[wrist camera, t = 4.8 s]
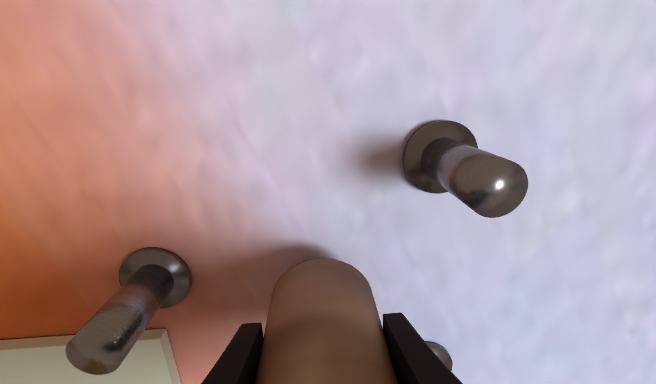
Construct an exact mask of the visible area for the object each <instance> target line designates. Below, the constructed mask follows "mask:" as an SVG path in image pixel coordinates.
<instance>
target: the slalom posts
mask: <svg viewBox="0 0 656 384" xmlns="http://www.w3.org/2000/svg"><path fill="white" fill-rule="evenodd" d="M403 167H404V171H405V173H406V175H407V177H408V178H409V180H410V181H411V182H412V183H413V184H414V185H415V186H416V187H418V188H419V189H421V190H423V191H425V192H429V193H445V192H448V191H449V192H450V193H451V194H453V195H454V196H455V197H457V198H458V199H459V200H461V201H462V202H463V203H465V204H466V205H467V206H468V207H470V208H471V209H472V210H474V211H475V212H476V213H478V214H479V215H481V216H484V217H489V218H495V217H500V216H503V215H506V214H508V213H510V212H511V211H513V210H514V209H515V208H516V207H517V206H519V204H520V203H521V202H522V200H523V199H524V197H525V195H526V192H527V188H528V178H527V175H526V173H525V171H524V169H523V168H522V167H521V166H520V165H519V164H517V163H515V162H513V161H510V160H507V159H505V158H502V157H499V156H497V155H494V154H491V153H488V152H486V151H483V150H480V149H478V146H477V142H476V139H475V137H474V136H473V134H472V133H471V131H470V130H469V129H468V128H466V127H465V126H463V125H462V124H460V123H457V122H453V121H448V120H438V121H433V122H430V123H427V124H425V125H424V126H422V127H421V128H419V129H418V130H417V131H416V132H415V133H414V134H413V135H412V136H411V137H410V139H409V140H408V142H407V144H406V146H405V149H404V153H403ZM119 281H120V284H121V287H120V288H119V290H118V291H117V292H116V293H115V294H114V295H113V296H112V297H111V298H110V299H109V300H108V301H107V302H106V303H105V304H104V305H103V306H102V307H101V308H100V309H99V310H98V311H97V313H96V314H95V315H94V316H93V317H92V318H91V319H90V320H89V321H88V322H87V323H86V324H85V325H84V326H83V327H82V328H81V329H80V330H79V331H78V332H77V333H76V335H75V336H74V337H73V338H72V339H71V340H70V341H69V342H68V343H67V345H66V349H65V352H66V356H67V359H68V360H69V362H70V363H71V364H72V365H73V366H74V367H76V368H77V369H79V370H80V371H83V372H85V373H88V374H93V375H105V374H109V373H111V372H113V371H115V370H116V369H118V367H119V366H120V365H121V363H122V362H123V360H124V359H125V358H126V356H127V355H128V353H129V352H130V350H131V349H132V347H133V346H134V344H135V343H136V342H137V340H138V339H139V337H140V336H141V334H142V333H143V331H144V330H145V328H146V327H147V326H148V324H149V323H150V321H151V320H152V318H153V317H154V315H155V314H156V313H157V311H158V310H159V308H168V307H171V306H174V305H176V304H178V303H179V302H180V301H182V300H183V299H184V297H185V296H186V294H187V293H188V291H189V289H190V287H191V282H192V277H191V272H190V270H189V268H188V266H187V264H186V263H185V262H184V261H183V260H182V259H181V258H180V257H179V256H178V255H176V254H174V253H173V252H171V251H168V250H165V249H162V248H144V249H140V250H138V251H136V252H134V253H133V254H131V255H130V256H129V257H128V258H127V259H126V260H125V261H124V262H123V264H122V265H121V267H120V270H119ZM426 344H427V345H428V346H429V347H430V348H431V350H432V351H433V352H434V353H435V354H436V355H437V356H438V358H439V359H440V360H441V361H442V362H443V363H444V364H445V365H446V366H447V368H448V369H449V370H450V371H451V370H452V359H451V357H450V355H449V353H448V351H447V350H446V349H445V348H444V347H443V346H441V345H439V344H437V343H434V342H426Z"/></svg>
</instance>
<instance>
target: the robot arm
mask: <svg viewBox="0 0 656 384" xmlns="http://www.w3.org/2000/svg"><path fill="white" fill-rule="evenodd" d="M383 332H384V335H385V339H386V342H387V345H388V349H389V352H390V356H391V359H392V363H393V366H394V369H395V373H396V376H397V380H398V383H399V384H462V382H461V381H460V380H459V379H458V378H457V377H456V376H455V375H454V374H453V373H452V372H451V371H450V370H449V369H448V368H447V366H446V365H445V364H444V363H443V362H442V361H441V360H440V359H439V358H438V356H437V355H436V354H435V353H434V352H433V351H432V350H431V348H430V347H429V346H428V345H427V344H426V342H425V341H424V340H423V339H422V338H421V336H420V335H419V334H418V333H417V331H416V330H415V329H414V328H413V326H412V325H411V324H410V322H409V321H408V320H407V319H406V317H405V316H404V315H403V314H402V313H391V314H383ZM262 344H263V331H262V324H261V323H247V324H242V325H241V326H240V327H239V329H238V331H237V332H236V334H235V335H234V337H233V339H232V340H231V342H230V343H229V345H228V346H227V348H226V349H225V351H224V352H223V354H222V355H221V357H220V358H219V360H218V361H217V362H216V364H215V365H214V367H213V368H212V370H211V371H210V372H209V374H208V375H207V377H206V378H205V379H204V381H203V382H202V383H201V384H255V380H256V375H257V369H258V364H259V359H260V354H261V349H262Z"/></svg>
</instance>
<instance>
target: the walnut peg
mask: <svg viewBox="0 0 656 384" xmlns="http://www.w3.org/2000/svg"><path fill="white" fill-rule="evenodd" d="M255 384H399V383H398V380H397V376H396V373H395V369H394V366H393V363H392V359H391V356H390V352H389V349H388V345H387V342H386V339H385V335H384V332H383V328H382V325H381V321H380V318H379V315H378V311H377V308H376V304H375V301H374V297H373V294H372V291H371V288H370V285H369V283H368V281H367V280H366V278H365V277H364V276H363V274H362V273H361V272H359V271H358V270H357V269H356V268H354V267H353V266H351V265H349V264H347V263H344V262H342V261H338V260H334V259H313V260H309V261H305V262H302V263H300V264H298V265H296V266H294V267H292V268H291V269H289V270H288V271H287V272H285V273H284V274H283V275H282V276H281V278H280V279H279V280H278V282H277V283H276V285H275V287H274V289H273V293H272V297H271V302H270V307H269V312H268V318H267V323H266V328H265V333H264V338H263V344H262V349H261V354H260V359H259V364H258V369H257V375H256V380H255Z"/></svg>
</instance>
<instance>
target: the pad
mask: <svg viewBox="0 0 656 384" xmlns="http://www.w3.org/2000/svg"><path fill="white" fill-rule="evenodd" d="M74 336H75V335H66V336H52V337H38V338H24V339H10V340H0V384H181V381H180V378H179V374H178V370H177V367H176V363H175V360H174V356H173V352H172V349H171V345H170V341H169V338H168V334H167V330H166V329H151V330H144V331H143V333H142V334H141V336H140V337H139V339H138V340H137V342H136V343H135V344H134V346H133V347H132V349H131V350H130V352H129V353H128V355H127V356H126V358H125V359H124V360H123V362H122V363H121V365H120V366H119V367H118V369H116V370H115V371H113V372H111V373H109V374H105V375H93V374H88V373H85V372H83V371H80V370H79V369H77V368H76V367H74V366H73V365H72V364H71V363H70V362H69V360H68V359H67V356H66V352H65V349H66V345H67V343H68V342H69V341H70V340H71V339H72V338H73V337H74Z"/></svg>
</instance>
